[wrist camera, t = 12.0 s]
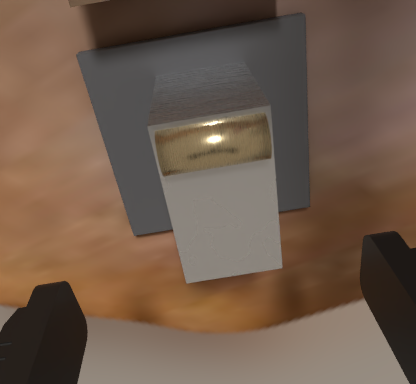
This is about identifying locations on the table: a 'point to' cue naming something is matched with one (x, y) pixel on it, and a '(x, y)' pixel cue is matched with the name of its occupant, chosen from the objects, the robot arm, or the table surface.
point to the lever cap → (217, 170)
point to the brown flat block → (83, 2)
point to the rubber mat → (186, 61)
